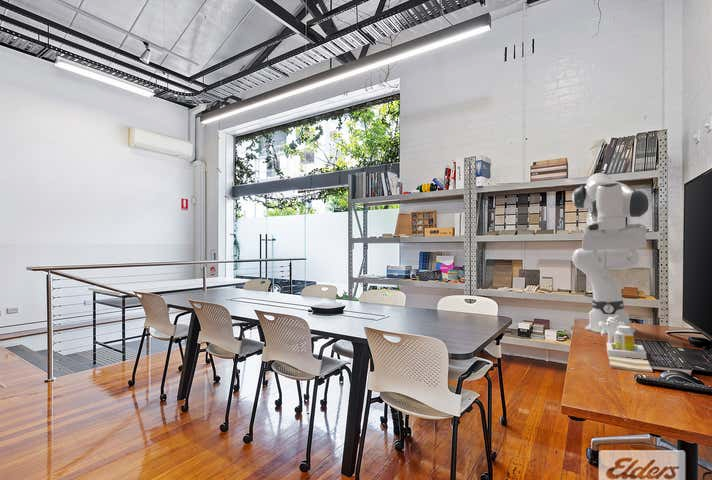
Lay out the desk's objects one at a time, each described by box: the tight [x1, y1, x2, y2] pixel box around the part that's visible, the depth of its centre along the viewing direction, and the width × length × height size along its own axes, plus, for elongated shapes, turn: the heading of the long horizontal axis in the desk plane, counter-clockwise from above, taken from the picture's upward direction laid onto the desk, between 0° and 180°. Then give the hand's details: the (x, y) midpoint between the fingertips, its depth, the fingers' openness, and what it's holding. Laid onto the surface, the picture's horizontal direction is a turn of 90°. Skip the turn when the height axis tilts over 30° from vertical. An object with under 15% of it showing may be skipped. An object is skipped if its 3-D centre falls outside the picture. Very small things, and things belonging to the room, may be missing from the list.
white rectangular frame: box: [606, 342, 648, 360], centre depth 136 cm, size 11×11×2 cm
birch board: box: [608, 357, 653, 373], centre depth 125 cm, size 11×11×1 cm
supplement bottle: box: [615, 325, 635, 351], centre depth 136 cm, size 6×6×10 cm
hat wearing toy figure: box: [599, 315, 625, 343], centre depth 149 cm, size 9×4×12 cm, turn 66°
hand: (614, 261), depth 140 cm, fingers open, 8 cm apart
